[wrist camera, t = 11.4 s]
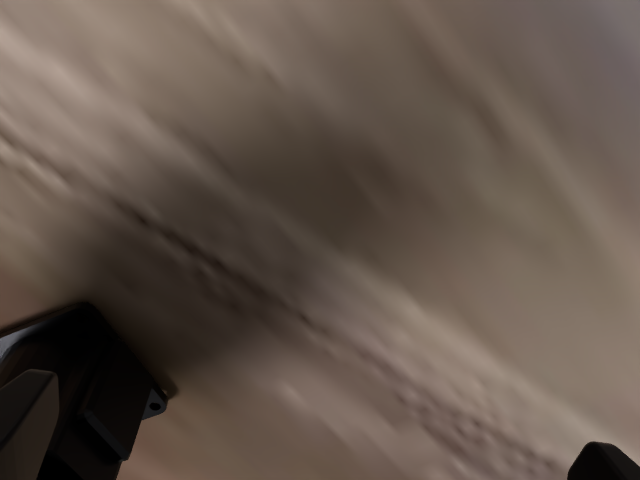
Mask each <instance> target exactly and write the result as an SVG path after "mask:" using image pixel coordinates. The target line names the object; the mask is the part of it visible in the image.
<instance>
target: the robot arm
mask: <svg viewBox="0 0 640 480" xmlns="http://www.w3.org/2000/svg"><path fill="white" fill-rule="evenodd" d="M80 313H83V314H85V315H87V316H88V317H84V316H82V315H80ZM154 402H155V403H154ZM156 403H158V404H156ZM167 404H168V398H167V396H166V395H165V394H164V393H163V391H162V390H161V389H160V388H159V386H158V385H157V384H156V383H155V381H154V379H153V378H152V377H151V375H150V374H149V373H148V372H147V370H146V369H145V368H144V367H143V365H142V364H141V363H140V362H139V360H138V359H137V358H136V357H135V355H134V354H133V353H132V351H131V350H130V349H129V348H128V346H127V345H126V344H125V343H124V342H123V341H122V340H121V339H120V338H119V336H118V335H117V334H116V333H115V331H114V330H113V329H112V328H111V326H110V325H109V324H108V323H107V321H106V320H105V319H104V318H103V316H102V315H101V314H100V313H99V311H98V310H97V309H96V308H95V307H94V306H93V305H91V304H89V303H85V302H81V303H77V304H74V305H72V306H69V307H67V308H64V309H62V310H59V311H57V312H54V313H52V314H49V315H47V316H44V317H41V318H39V319H36V320H34V321H31V322H29V323H26V324H24V325H21V326H19V327H16V328H14V329H11V330H9V331H6V332H3V333H1V334H0V480H116V478H117V475H118V472H119V469H120V466H121V463H122V462H123V461H126V460H128V459H129V457H130V454H131V451H132V448H133V445H134V442H135V439H136V435H137V432H138V429H139V426H140V423H141V420H144V419H147V418H150V417H153V416H156V415H159V414H161V413H163V412H164V411H165V410H166V408H167ZM567 480H640V467H639V466H638V465H637V464H636V463H635V462H634V461H633V460H631V459H630V458H629V457H628V456H627V455H626V454H624V453H623V452H622V451H621V450H620V449H619V448H617V447H616V446H614V445H612V444H609V443H602V442H594V441H593V442H589V443H587V444H586V445H585V446H584V448H583V449H582V451H581V452H580V454H579V455H578V457H577V458H576V460H575V461H574V463H573V464H572V466H571V467H570V469H569V472H568V477H567Z"/></svg>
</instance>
